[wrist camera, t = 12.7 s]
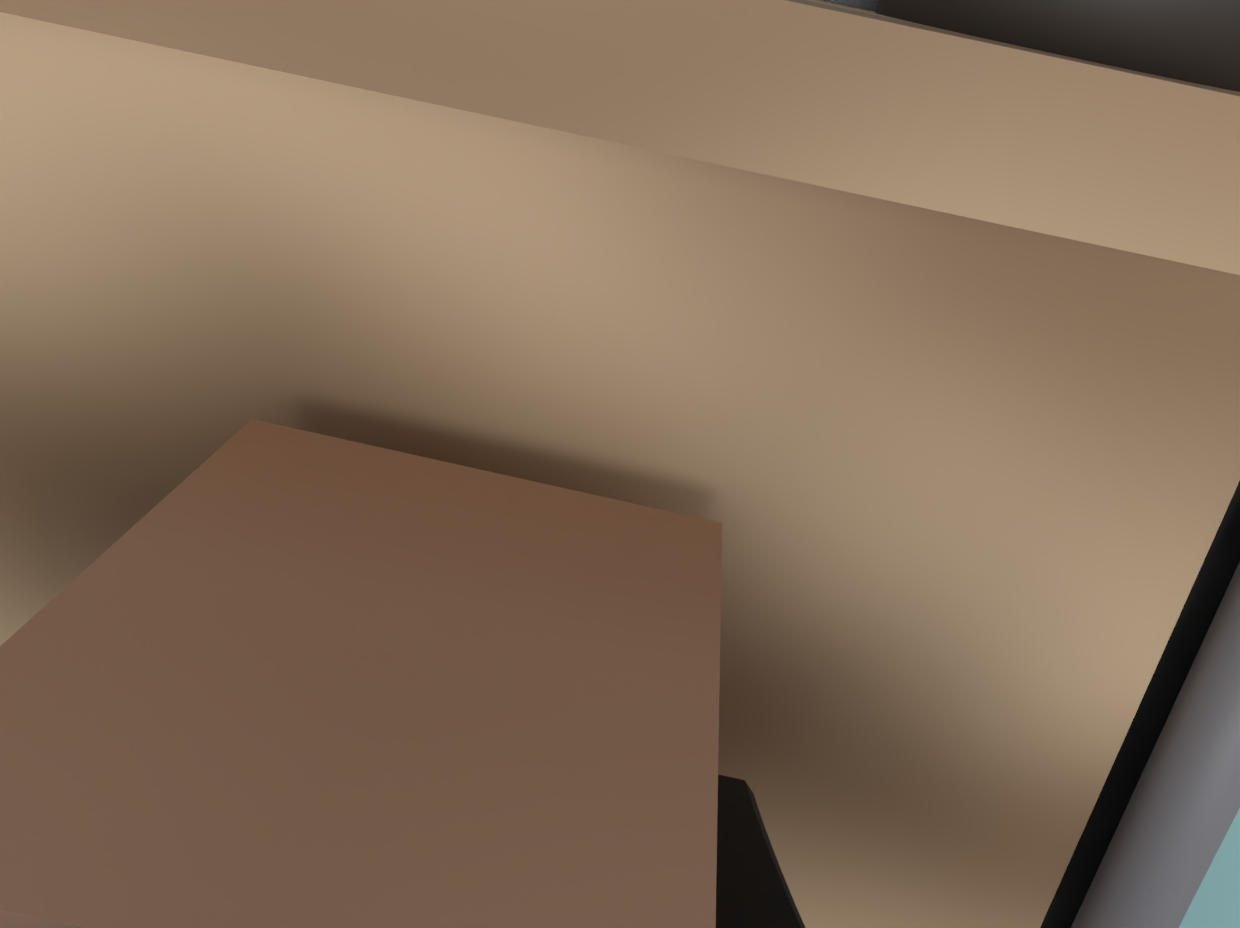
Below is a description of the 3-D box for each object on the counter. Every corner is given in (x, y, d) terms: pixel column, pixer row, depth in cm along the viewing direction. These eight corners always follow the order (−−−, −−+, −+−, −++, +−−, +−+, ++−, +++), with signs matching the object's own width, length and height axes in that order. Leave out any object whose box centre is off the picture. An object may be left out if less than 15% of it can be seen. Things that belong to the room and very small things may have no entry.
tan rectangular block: (625, 890, 13) (546, 1589, 7) (219, 799, 13) (-174, 1427, 7) (721, 522, 11) (715, 1069, 5) (251, 419, 11) (-232, 855, 5)
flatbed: (892, 1185, 17) (985, 1895, 11) (-461, 893, 17) (-1148, 1428, 11) (1414, -25, 10) (2421, -12, 4) (-780, -488, 11) (-2980, -1151, 4)
